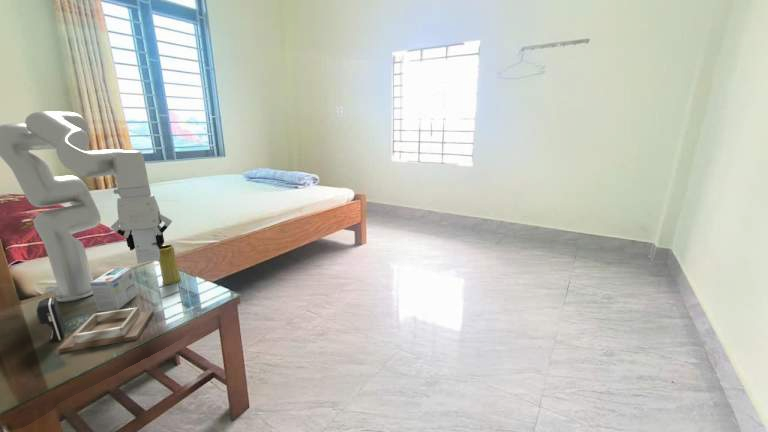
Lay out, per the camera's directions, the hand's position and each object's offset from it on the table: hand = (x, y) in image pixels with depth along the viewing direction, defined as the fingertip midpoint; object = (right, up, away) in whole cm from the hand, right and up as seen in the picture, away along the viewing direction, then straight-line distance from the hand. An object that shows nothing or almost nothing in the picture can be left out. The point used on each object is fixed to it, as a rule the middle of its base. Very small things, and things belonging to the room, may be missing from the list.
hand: (147, 246), depth 106 cm
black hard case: (-20, -25, -9) cm, 33 cm away
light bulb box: (-16, -20, +9) cm, 27 cm away
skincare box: (0, -4, +1) cm, 5 cm away
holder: (-6, -24, -7) cm, 26 cm away
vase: (-8, -16, +25) cm, 30 cm away
